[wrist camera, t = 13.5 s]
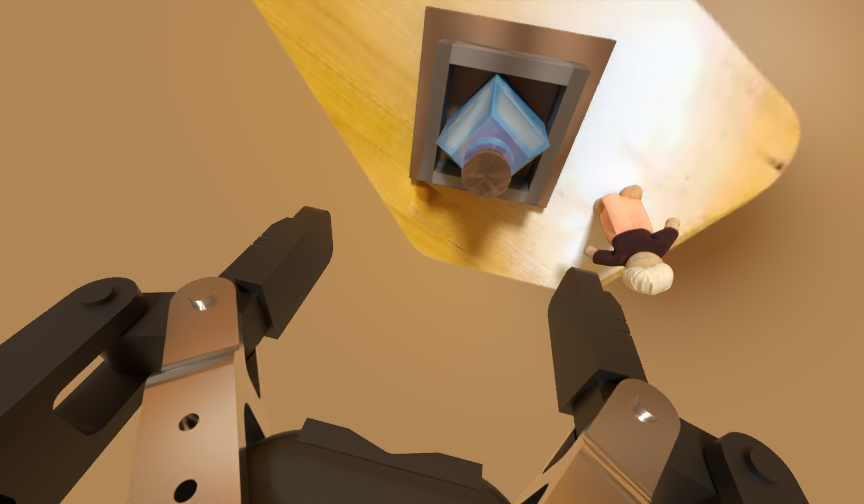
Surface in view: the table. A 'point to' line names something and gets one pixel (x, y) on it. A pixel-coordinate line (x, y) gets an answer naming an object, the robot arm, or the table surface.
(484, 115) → the perfume bottle
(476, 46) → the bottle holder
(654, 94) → the table surface
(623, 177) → the table surface
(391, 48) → the table surface
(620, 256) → the grandmother figurine
